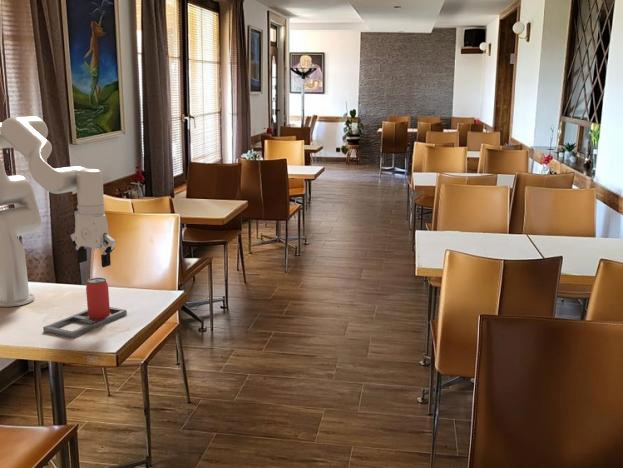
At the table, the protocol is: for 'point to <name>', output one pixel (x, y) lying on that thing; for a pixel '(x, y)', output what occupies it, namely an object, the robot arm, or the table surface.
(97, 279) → the beer can
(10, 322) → the table surface
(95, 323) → the gray rectangular frame
